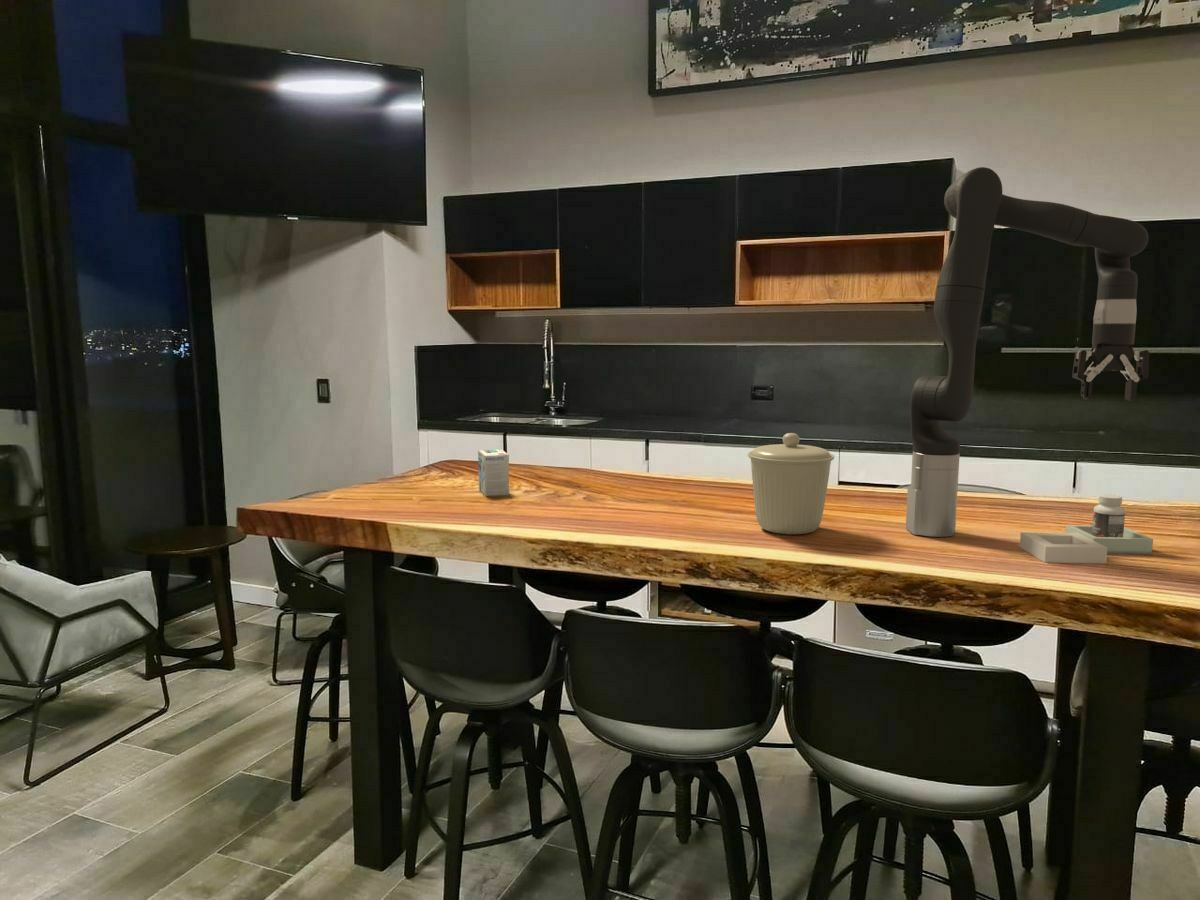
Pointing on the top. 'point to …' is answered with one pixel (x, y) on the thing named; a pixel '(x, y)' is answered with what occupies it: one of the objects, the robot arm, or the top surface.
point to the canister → (790, 485)
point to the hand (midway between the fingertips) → (1107, 399)
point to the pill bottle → (1108, 517)
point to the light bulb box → (493, 472)
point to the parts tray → (1117, 540)
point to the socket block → (1063, 547)
